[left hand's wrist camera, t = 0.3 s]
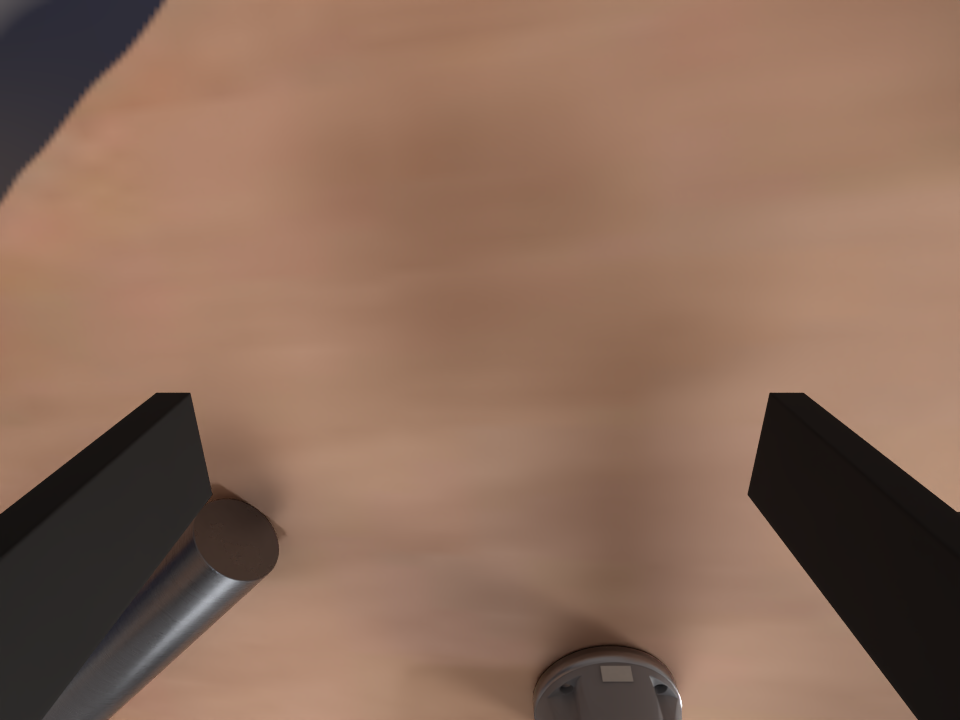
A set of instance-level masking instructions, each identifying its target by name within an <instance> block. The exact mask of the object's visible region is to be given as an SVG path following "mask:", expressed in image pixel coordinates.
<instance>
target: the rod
mask: <svg viewBox="0 0 960 720" xmlns="http://www.w3.org/2000/svg"><path fill="white" fill-rule="evenodd" d="M278 555H279V544H278V539H277V536H276V533H275V531H274V529H273V527H272V525H271V524H270V523H269V521H268V520H267V519H266V518H265V516H264V515H263V514H261V513H260V512H259V511H258V510H257V509H255V508H254V507H252V506H250V505H248V504H246V503H244V502H241V501H238V500H233V499H220V500H215V501H212V502H210V503H208V504H206V505H205V506H204V507H203V508H202V509H201V510H200V512H199V513H198V514H197V516H196V517H195V518H194V520H193V521H192V522H191V524H190V525H189V526H188V528H187V529H186V530H185V532H184V533H183V534H182V536H181V537H180V538H179V539H178V541H177V542H176V543H175V545H174V546H173V547H172V549H171V550H170V551H169V553H168V554H167V555H166V557H165V558H164V559H163V561H162V562H161V563H160V565H159V566H158V567H157V569H156V570H155V571H154V573H153V574H152V575H151V576H150V578H149V579H148V580H147V582H146V583H145V584H144V586H143V587H142V588H141V590H140V591H139V592H138V594H137V595H136V596H135V598H134V599H133V600H132V602H131V603H130V604H129V606H128V607H127V608H126V609H125V611H124V612H123V613H122V615H121V616H120V617H119V619H118V620H117V621H116V623H115V624H114V625H113V627H112V628H111V629H110V631H109V632H108V633H107V635H106V636H105V637H104V639H103V640H102V641H101V643H100V644H99V645H98V646H97V648H96V649H95V650H94V652H93V653H92V654H91V656H90V657H89V658H88V660H87V661H86V662H85V664H84V665H83V666H82V668H81V669H80V670H79V672H78V673H77V674H76V676H75V677H74V678H73V679H72V681H71V682H70V683H69V685H68V686H67V687H66V689H65V690H64V691H63V693H62V694H61V695H60V697H59V698H58V699H57V701H56V702H55V703H54V705H53V706H52V707H51V709H50V710H49V711H48V713H47V714H46V715H45V716H44V718H43V719H42V720H108V719H110V718H111V717H112V716H113V715H114V714H115V713H116V712H117V711H118V710H119V709H121V708H122V707H123V706H124V705H125V704H126V703H127V702H128V701H129V700H130V699H132V698H133V697H134V696H135V695H136V694H137V693H138V692H139V691H140V690H141V689H143V688H144V687H145V686H146V685H147V684H148V683H149V682H150V681H151V680H152V679H153V678H155V677H156V676H157V675H158V674H159V673H160V672H161V671H162V670H163V669H164V668H166V667H167V666H168V665H169V664H170V663H171V662H172V661H173V660H174V659H175V658H177V657H178V656H179V655H180V654H181V653H182V652H183V651H184V650H185V649H186V648H187V647H189V646H190V645H191V644H192V643H193V642H194V641H195V640H196V639H197V638H198V637H200V636H201V635H202V634H203V633H204V632H205V631H206V630H207V629H208V628H209V627H211V626H212V625H213V624H214V623H215V622H216V621H217V620H218V619H219V618H220V617H222V616H223V615H224V614H225V613H226V612H227V611H228V610H229V609H230V608H231V607H232V606H234V605H235V604H236V603H237V602H238V601H239V600H240V599H241V598H242V597H243V596H245V595H246V594H247V593H248V592H249V591H250V590H251V589H252V588H253V587H254V586H256V585H257V584H258V583H259V582H260V581H261V580H262V579H263V578H264V577H265V576H266V575H268V574H269V573H270V572H271V571H272V569H273V568H274V566H275V565H276V562H277V559H278Z"/></svg>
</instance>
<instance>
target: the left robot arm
mask: <svg viewBox="0 0 960 720" xmlns="http://www.w3.org/2000/svg"><path fill="white" fill-rule="evenodd" d="M211 496H212V490H211V486H210V481H209V477H208V472H207V467H206V463H205V458H204V454H203V449H202V444H201V440H200V435H199V431H198V426H197V421H196V417H195V412H194V408H193V403H192V398H191V394H190V393H156V394H154V395H153V396H152V397H150V398H149V399H148V400H147V401H145V402H144V403H143V404H141V405H140V406H139V407H138V408H136V409H135V410H134V411H132V412H131V413H130V414H129V415H127V416H126V417H125V418H123V419H122V420H121V421H120V422H118V423H117V424H116V425H114V426H113V427H112V428H111V429H109V430H108V431H107V432H105V433H104V434H103V435H102V436H100V437H99V438H98V439H96V440H95V441H94V442H93V443H91V444H90V445H89V446H87V447H86V448H85V449H84V450H82V451H81V452H80V453H78V454H77V455H76V456H75V457H73V458H72V459H71V460H69V461H68V462H67V463H66V464H64V465H63V466H62V467H60V468H59V469H58V470H57V471H55V472H54V473H53V474H51V475H50V476H49V477H48V478H46V479H45V480H44V481H42V482H41V483H40V484H39V485H37V486H36V487H35V488H33V489H32V490H31V491H30V492H28V493H27V494H26V495H24V496H23V497H22V498H21V499H19V500H18V501H17V502H15V503H14V504H13V505H12V506H10V507H9V508H8V509H6V510H5V511H4V512H3V513H1V514H0V720H42V719H43V718H44V716H45V715H46V714H47V713H48V711H49V710H50V709H51V707H52V706H53V705H54V703H55V702H56V701H57V699H58V698H59V697H60V695H61V694H62V693H63V691H64V690H65V689H66V687H67V686H68V685H69V683H70V682H71V681H72V679H73V678H74V677H75V676H76V674H77V673H78V672H79V670H80V669H81V668H82V666H83V665H84V664H85V662H86V661H87V660H88V658H89V657H90V656H91V654H92V653H93V652H94V650H95V649H96V648H97V646H98V645H99V644H100V643H101V641H102V640H103V639H104V637H105V636H106V635H107V633H108V632H109V631H110V629H111V628H112V627H113V625H114V624H115V623H116V621H117V620H118V619H119V617H120V616H121V615H122V613H123V612H124V611H125V609H126V608H127V607H128V606H129V604H130V603H131V602H132V600H133V599H134V598H135V596H136V595H137V594H138V592H139V591H140V590H141V588H142V587H143V586H144V584H145V583H146V582H147V580H148V579H149V578H150V576H151V575H152V574H153V573H154V571H155V570H156V569H157V567H158V566H159V565H160V563H161V562H162V561H163V559H164V558H165V557H166V555H167V554H168V553H169V551H170V550H171V549H172V547H173V546H174V545H175V543H176V542H177V541H178V539H179V538H180V537H181V536H182V534H183V533H184V532H185V530H186V529H187V528H188V526H189V525H190V524H191V522H192V521H193V520H194V518H195V517H196V516H197V514H198V513H199V512H200V510H201V509H202V508H203V506H204V505H205V504H206V503H207V501H208V500H209V499H210V497H211ZM748 496H749V497H750V499H751V500H752V501H753V503H754V504H755V505H756V506H757V508H758V509H759V510H760V512H761V513H762V514H763V516H764V517H765V518H766V520H767V521H768V522H769V524H770V525H771V526H772V528H773V529H774V530H775V532H776V533H777V534H778V536H779V537H780V538H781V539H782V541H783V542H784V543H785V545H786V546H787V547H788V549H789V550H790V551H791V553H792V554H793V555H794V557H795V558H796V559H797V561H798V562H799V563H800V565H801V566H802V567H803V569H804V570H805V571H806V573H807V574H808V575H809V576H810V578H811V579H812V580H813V582H814V583H815V584H816V586H817V587H818V588H819V590H820V591H821V592H822V594H823V595H824V596H825V598H826V599H827V600H828V602H829V603H830V604H831V606H832V607H833V608H834V609H835V611H836V612H837V613H838V615H839V616H840V617H841V619H842V620H843V621H844V623H845V624H846V625H847V627H848V628H849V629H850V631H851V632H852V633H853V635H854V636H855V637H856V639H857V640H858V641H859V643H860V644H861V645H862V646H863V648H864V649H865V650H866V652H867V653H868V654H869V656H870V657H871V658H872V660H873V661H874V662H875V664H876V665H877V666H878V668H879V669H880V670H881V672H882V673H883V674H884V676H885V677H886V678H887V679H888V681H889V682H890V683H891V685H892V686H893V687H894V689H895V690H896V691H897V693H898V694H899V695H900V697H901V698H902V699H903V701H904V702H905V703H906V705H907V706H908V707H909V709H910V710H911V711H912V713H913V714H914V715H915V716H916V718H917V719H918V720H960V512H956V511H955V510H954V509H952V508H951V507H950V506H948V505H947V504H946V503H945V502H943V501H942V500H941V499H939V498H938V497H937V496H936V495H934V494H933V493H932V492H930V491H929V490H928V489H927V488H925V487H924V486H923V485H921V484H920V483H919V482H918V481H916V480H915V479H914V478H912V477H911V476H910V475H909V474H907V473H906V472H905V471H903V470H902V469H901V468H900V467H898V466H897V465H896V464H894V463H893V462H892V461H891V460H889V459H888V458H887V457H885V456H884V455H883V454H882V453H880V452H879V451H878V450H876V449H875V448H874V447H873V446H871V445H870V444H869V443H867V442H866V441H865V440H864V439H862V438H861V437H860V436H858V435H857V434H856V433H855V432H853V431H852V430H851V429H849V428H848V427H847V426H846V425H844V424H843V423H842V422H840V421H839V420H838V419H837V418H835V417H834V416H833V415H831V414H830V413H829V412H828V411H826V410H825V409H824V408H822V407H821V406H820V405H819V404H817V403H816V402H815V401H813V400H812V399H811V398H810V397H808V396H807V395H806V394H804V393H770V394H769V398H768V403H767V408H766V412H765V417H764V421H763V426H762V431H761V435H760V440H759V444H758V449H757V454H756V458H755V463H754V467H753V472H752V477H751V481H750V486H749V490H748ZM533 706H534V717H535V720H682V703H681V698H680V695H679V692H678V689H677V687H676V684H675V681H674V678H673V676H672V674H671V673H670V671H669V670H668V668H667V667H666V666H665V665H664V664H663V663H662V662H661V661H659V660H658V659H656V658H655V657H653V656H651V655H650V654H647V653H645V652H643V651H640V650H636V649H633V648H628V647H620V646H601V647H593V648H588V649H584V650H580V651H577V652H574V653H572V654H570V655H567V656H566V657H564V658H562V659H560V660H559V661H557V662H556V663H554V664H553V665H552V666H550V667H549V668H548V669H547V670H546V671H545V672H544V673H543V675H542V676H541V677H540V679H539V681H538V682H537V684H536V687H535V690H534V695H533Z"/></svg>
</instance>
